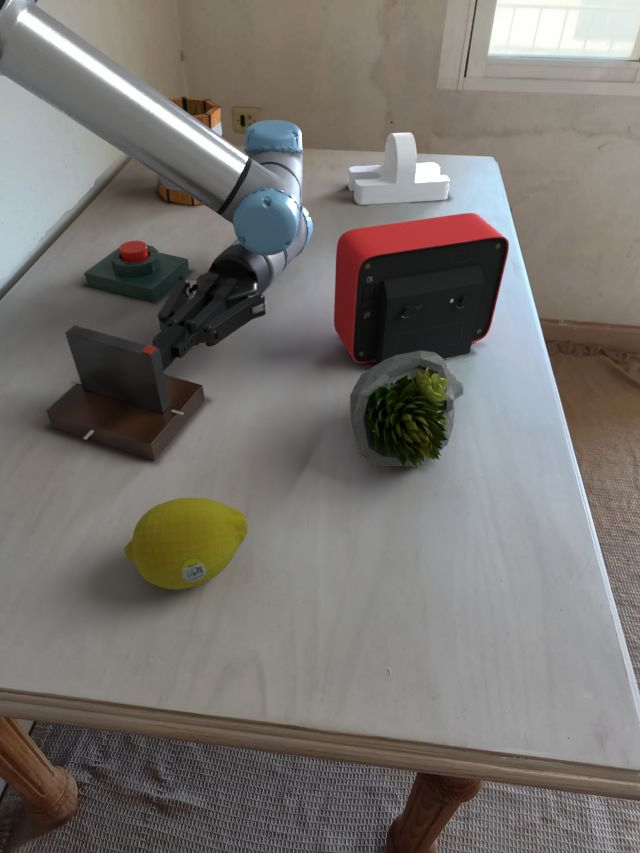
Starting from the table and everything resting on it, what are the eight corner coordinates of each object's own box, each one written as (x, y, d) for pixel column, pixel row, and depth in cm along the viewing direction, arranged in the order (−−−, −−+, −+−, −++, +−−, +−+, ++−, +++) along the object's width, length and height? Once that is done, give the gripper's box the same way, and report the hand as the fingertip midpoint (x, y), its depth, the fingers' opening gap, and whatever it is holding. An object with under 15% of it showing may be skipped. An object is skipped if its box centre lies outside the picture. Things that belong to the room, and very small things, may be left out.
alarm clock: (495, 351, 85) (522, 242, 74) (356, 378, 80) (364, 266, 69) (461, 313, 91) (482, 208, 81) (332, 337, 87) (335, 229, 76)
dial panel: (35, 437, 71) (27, 419, 70) (115, 362, 82) (110, 345, 80) (148, 475, 67) (144, 458, 65) (218, 392, 78) (215, 375, 76)
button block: (87, 285, 96) (80, 261, 93) (125, 256, 102) (121, 233, 100) (154, 302, 92) (149, 278, 90) (189, 271, 99) (186, 248, 96)
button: (116, 260, 94) (113, 249, 93) (131, 249, 97) (129, 238, 96) (138, 265, 93) (136, 255, 92) (153, 254, 96) (151, 243, 95)
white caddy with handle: (448, 199, 121) (457, 141, 113) (357, 205, 118) (360, 145, 111) (434, 180, 127) (441, 123, 120) (347, 184, 125) (349, 127, 118)
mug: (229, 203, 118) (222, 118, 108) (156, 207, 116) (141, 121, 106) (226, 164, 132) (220, 86, 122) (161, 167, 131) (149, 88, 120)
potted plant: (466, 384, 74) (516, 445, 61) (384, 452, 77) (414, 524, 64) (403, 312, 69) (442, 362, 56) (318, 388, 72) (335, 452, 59)
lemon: (129, 610, 55) (109, 557, 50) (138, 539, 61) (121, 484, 56) (251, 600, 56) (246, 546, 51) (249, 530, 62) (244, 475, 57)
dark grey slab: (82, 389, 74) (64, 330, 68) (91, 381, 75) (73, 323, 69) (162, 413, 71) (150, 354, 65) (170, 405, 72) (158, 346, 66)
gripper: (201, 233, 84) (92, 324, 68) (290, 252, 81) (197, 352, 65) (207, 283, 90) (107, 378, 73) (291, 302, 86) (205, 407, 70)
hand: (149, 366), depth 69 cm, fingers closed
